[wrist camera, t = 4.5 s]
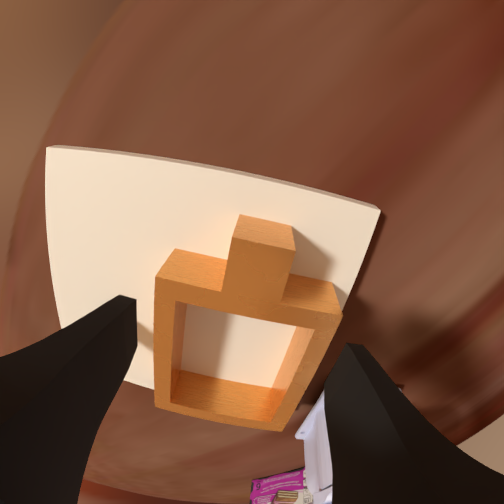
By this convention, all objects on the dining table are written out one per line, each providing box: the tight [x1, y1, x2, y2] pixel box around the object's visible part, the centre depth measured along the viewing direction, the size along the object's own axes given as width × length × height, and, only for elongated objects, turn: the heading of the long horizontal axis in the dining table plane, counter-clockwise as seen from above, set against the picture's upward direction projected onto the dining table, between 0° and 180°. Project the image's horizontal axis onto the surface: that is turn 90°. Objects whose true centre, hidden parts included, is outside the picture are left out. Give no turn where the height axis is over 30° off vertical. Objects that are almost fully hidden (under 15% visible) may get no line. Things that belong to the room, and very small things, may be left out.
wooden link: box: [153, 214, 343, 431], centre depth 18 cm, size 15×10×4 cm, turn 168°
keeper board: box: [45, 145, 381, 389], centre depth 18 cm, size 20×22×7 cm
